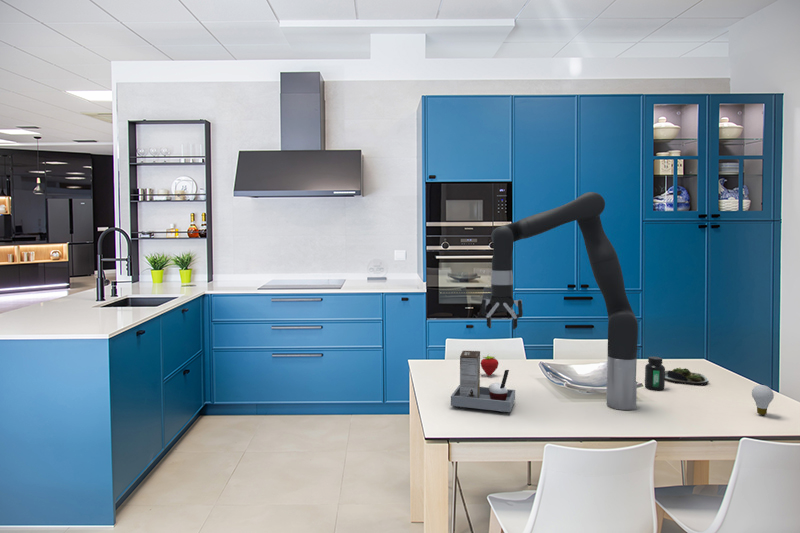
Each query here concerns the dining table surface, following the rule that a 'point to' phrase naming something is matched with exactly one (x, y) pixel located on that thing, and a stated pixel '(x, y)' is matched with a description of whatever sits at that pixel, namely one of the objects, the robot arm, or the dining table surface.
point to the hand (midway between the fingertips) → (501, 328)
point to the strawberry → (489, 365)
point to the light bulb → (762, 398)
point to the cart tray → (483, 400)
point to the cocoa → (499, 389)
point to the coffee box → (470, 374)
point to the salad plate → (685, 377)
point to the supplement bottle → (655, 374)
